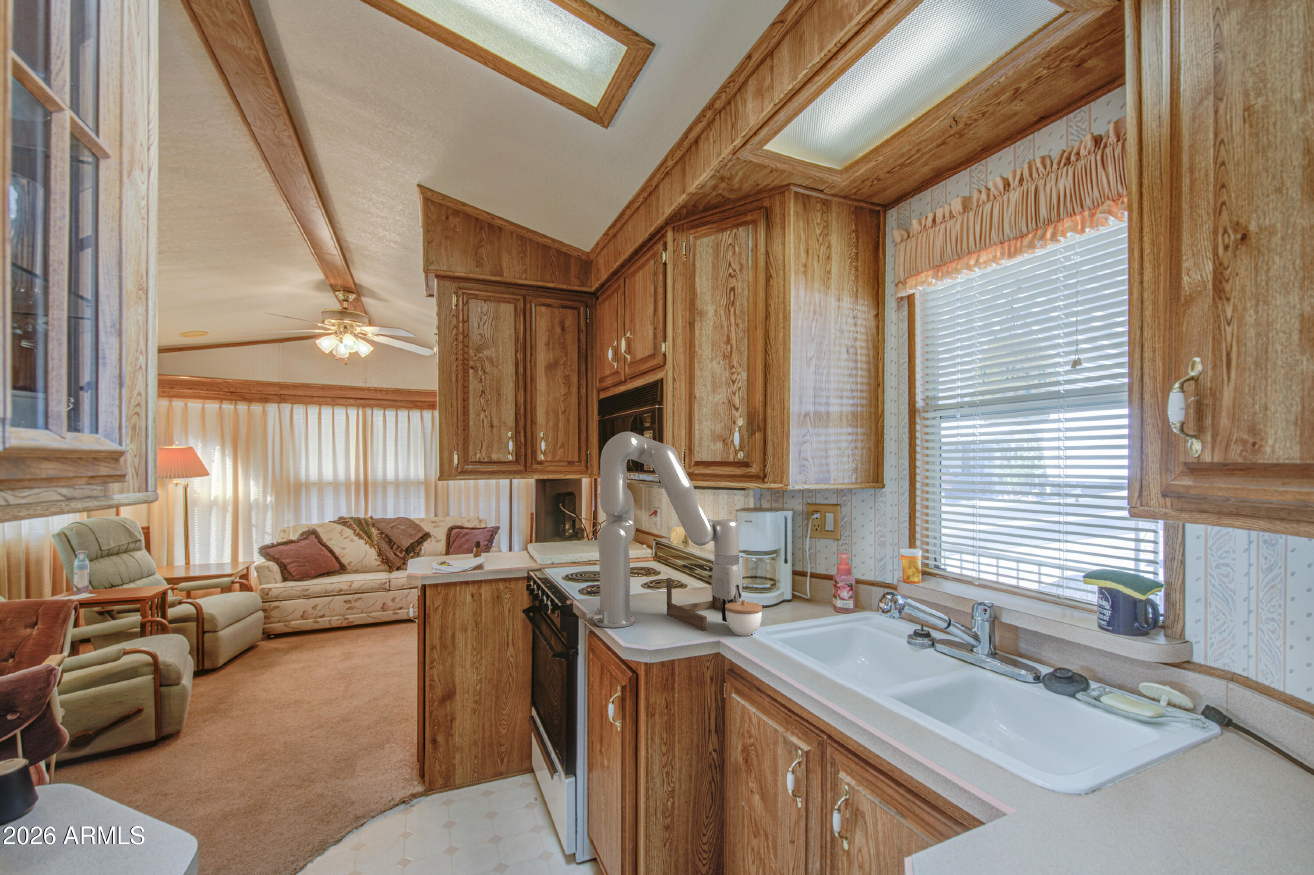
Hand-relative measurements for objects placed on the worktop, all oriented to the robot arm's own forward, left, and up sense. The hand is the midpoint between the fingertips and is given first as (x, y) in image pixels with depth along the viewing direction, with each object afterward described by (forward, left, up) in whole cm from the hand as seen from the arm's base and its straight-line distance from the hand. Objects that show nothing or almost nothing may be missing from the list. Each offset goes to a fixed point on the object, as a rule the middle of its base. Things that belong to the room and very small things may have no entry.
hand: (727, 620), depth 170 cm
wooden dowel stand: (0, +10, -1) cm, 10 cm away
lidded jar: (-1, -9, -2) cm, 9 cm away
